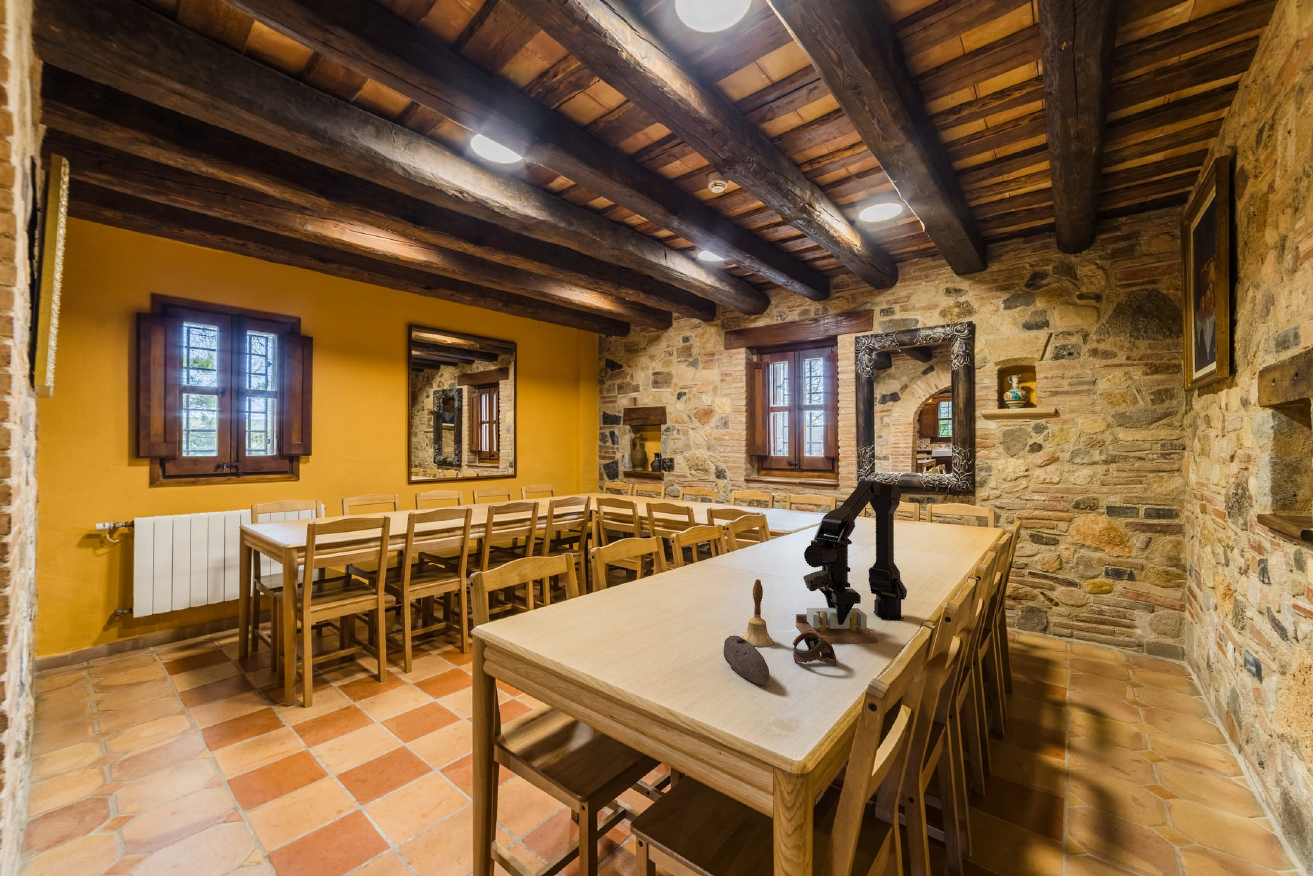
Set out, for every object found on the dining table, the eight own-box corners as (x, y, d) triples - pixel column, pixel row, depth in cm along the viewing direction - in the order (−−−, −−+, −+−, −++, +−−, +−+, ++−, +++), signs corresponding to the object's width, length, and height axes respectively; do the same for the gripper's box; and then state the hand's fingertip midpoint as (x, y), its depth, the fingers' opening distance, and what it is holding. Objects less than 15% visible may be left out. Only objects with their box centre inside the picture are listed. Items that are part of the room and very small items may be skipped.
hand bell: (776, 638, 141) (776, 577, 141) (769, 649, 133) (769, 585, 134) (745, 633, 144) (745, 574, 145) (736, 644, 137) (737, 581, 137)
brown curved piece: (845, 674, 120) (831, 645, 119) (806, 689, 122) (791, 661, 120) (831, 641, 132) (817, 614, 130) (795, 655, 134) (781, 629, 132)
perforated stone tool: (777, 689, 112) (777, 656, 112) (755, 693, 110) (756, 659, 110) (741, 661, 126) (741, 632, 126) (721, 665, 124) (721, 635, 124)
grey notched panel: (857, 620, 146) (857, 608, 146) (866, 628, 140) (866, 615, 140) (806, 620, 146) (806, 607, 146) (813, 628, 140) (813, 615, 140)
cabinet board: (859, 626, 150) (859, 603, 150) (877, 642, 138) (877, 617, 138) (795, 626, 150) (795, 603, 150) (808, 642, 138) (808, 617, 138)
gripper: (797, 554, 152) (797, 609, 152) (817, 570, 134) (817, 633, 134) (836, 554, 153) (836, 609, 152) (861, 570, 134) (861, 633, 134)
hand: (836, 620), depth 143 cm, fingers closed on grey notched panel, 6 cm apart
